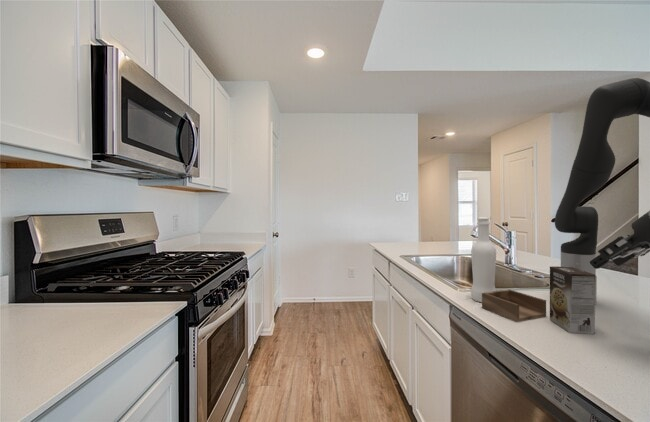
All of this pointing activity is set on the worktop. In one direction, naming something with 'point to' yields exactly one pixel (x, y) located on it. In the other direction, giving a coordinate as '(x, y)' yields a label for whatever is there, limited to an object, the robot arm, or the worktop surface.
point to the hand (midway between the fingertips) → (604, 264)
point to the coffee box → (572, 299)
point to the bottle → (483, 262)
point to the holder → (514, 305)
